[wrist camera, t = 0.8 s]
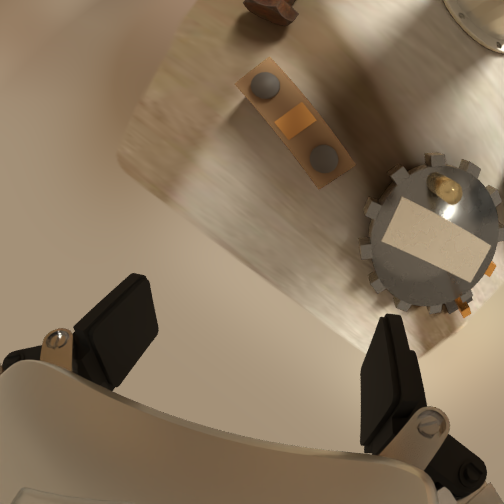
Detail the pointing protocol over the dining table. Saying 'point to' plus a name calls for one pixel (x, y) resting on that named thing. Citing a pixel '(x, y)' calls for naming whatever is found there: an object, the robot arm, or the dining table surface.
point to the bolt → (273, 10)
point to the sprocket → (432, 233)
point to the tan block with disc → (296, 122)
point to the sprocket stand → (459, 306)
